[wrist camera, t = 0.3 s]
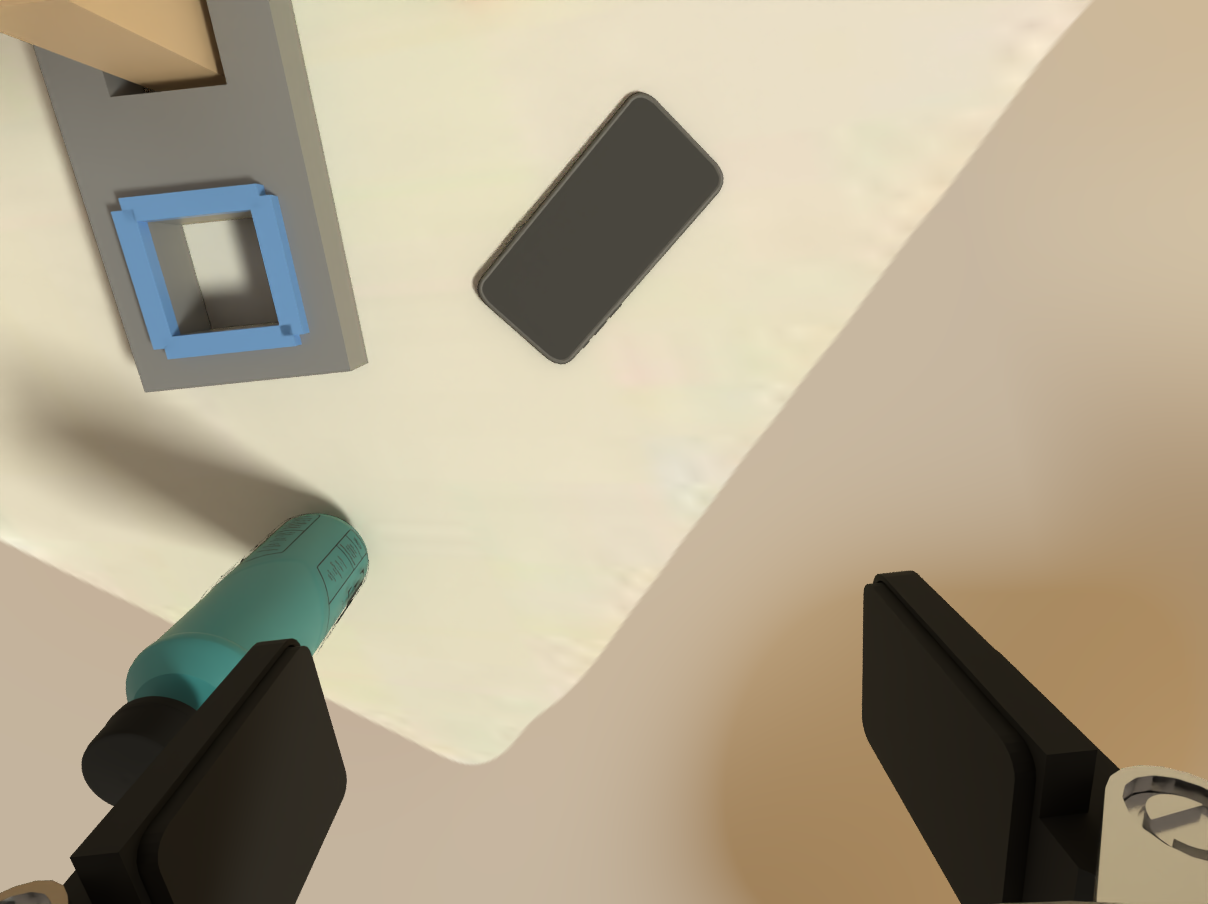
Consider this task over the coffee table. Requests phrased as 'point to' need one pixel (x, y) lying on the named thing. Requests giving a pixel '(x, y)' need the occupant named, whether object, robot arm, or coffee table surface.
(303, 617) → the beverage bottle
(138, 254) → the square hole board
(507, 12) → the coffee table surface
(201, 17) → the tan rectangular block
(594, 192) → the smartphone
